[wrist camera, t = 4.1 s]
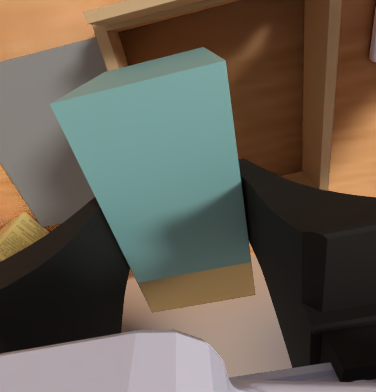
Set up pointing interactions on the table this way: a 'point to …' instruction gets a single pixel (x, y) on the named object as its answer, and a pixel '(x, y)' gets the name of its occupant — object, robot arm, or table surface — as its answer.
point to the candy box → (19, 234)
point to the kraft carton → (312, 77)
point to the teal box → (166, 174)
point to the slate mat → (45, 128)
